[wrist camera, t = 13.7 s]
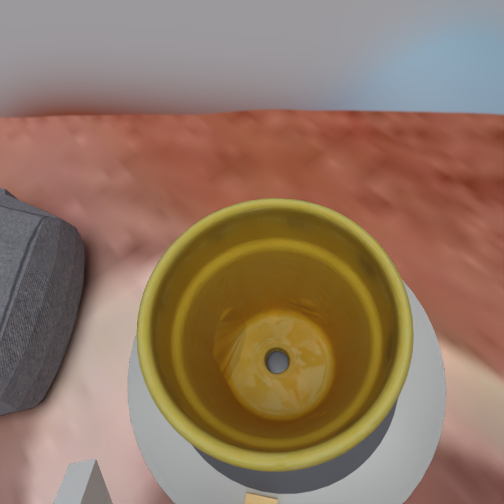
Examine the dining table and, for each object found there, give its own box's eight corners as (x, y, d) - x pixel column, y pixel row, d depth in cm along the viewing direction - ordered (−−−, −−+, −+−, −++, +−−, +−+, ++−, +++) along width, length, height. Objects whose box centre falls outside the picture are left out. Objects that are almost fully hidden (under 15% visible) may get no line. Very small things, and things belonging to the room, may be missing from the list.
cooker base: (95, 506, 24) (81, 509, 22) (177, 222, 31) (171, 209, 30) (437, 585, 21) (449, 595, 20) (438, 255, 29) (446, 243, 27)
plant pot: (154, 350, 26) (84, 292, 17) (291, 251, 28) (292, 153, 19) (261, 514, 22) (241, 550, 13) (411, 383, 24) (482, 337, 15)
